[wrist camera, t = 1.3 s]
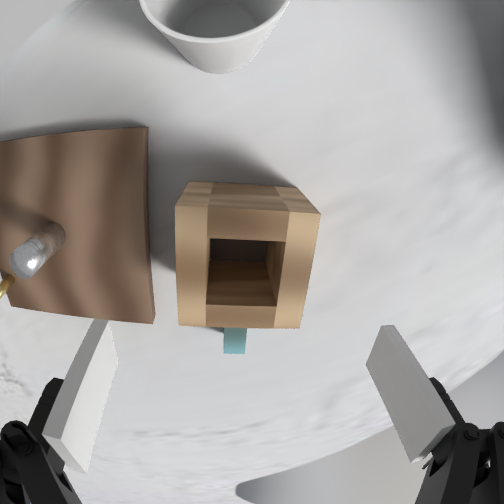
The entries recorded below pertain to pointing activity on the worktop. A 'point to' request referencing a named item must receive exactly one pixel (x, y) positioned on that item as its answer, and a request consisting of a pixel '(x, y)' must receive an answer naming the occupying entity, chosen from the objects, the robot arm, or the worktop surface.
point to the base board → (81, 222)
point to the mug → (215, 29)
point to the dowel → (6, 284)
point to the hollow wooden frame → (243, 272)
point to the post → (37, 250)
